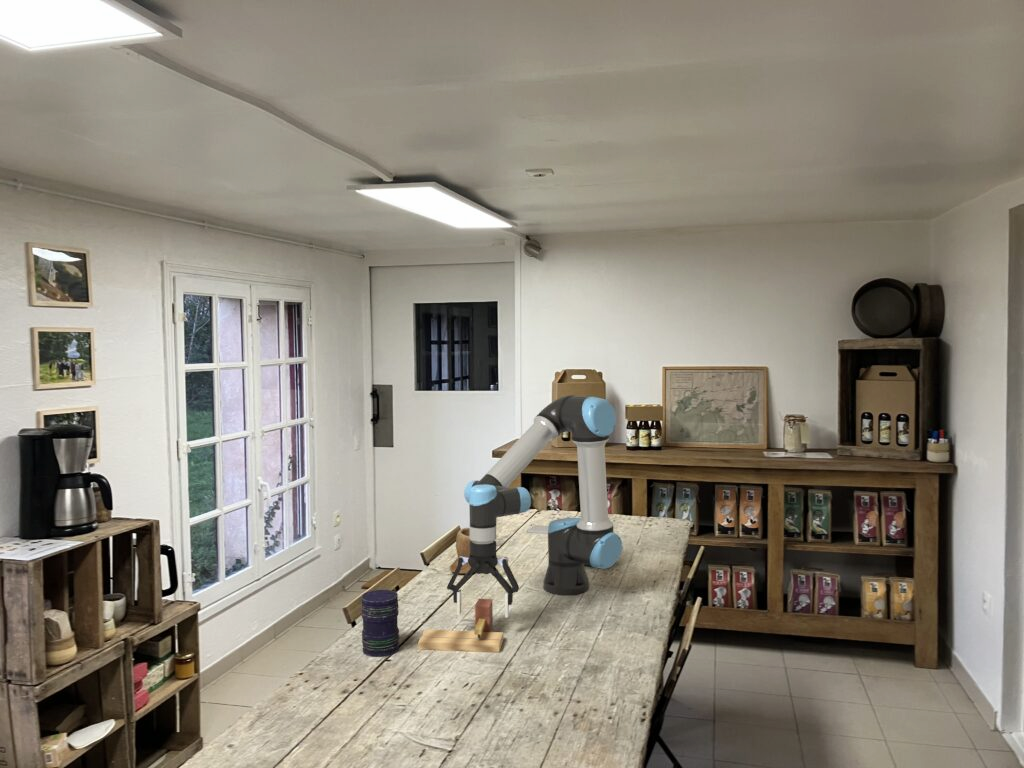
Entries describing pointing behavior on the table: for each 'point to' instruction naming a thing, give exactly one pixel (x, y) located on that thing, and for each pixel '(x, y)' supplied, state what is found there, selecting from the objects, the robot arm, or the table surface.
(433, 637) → the board
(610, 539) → the robot arm
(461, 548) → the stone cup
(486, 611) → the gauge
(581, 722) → the table surface
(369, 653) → the storage jar
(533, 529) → the baseboard
